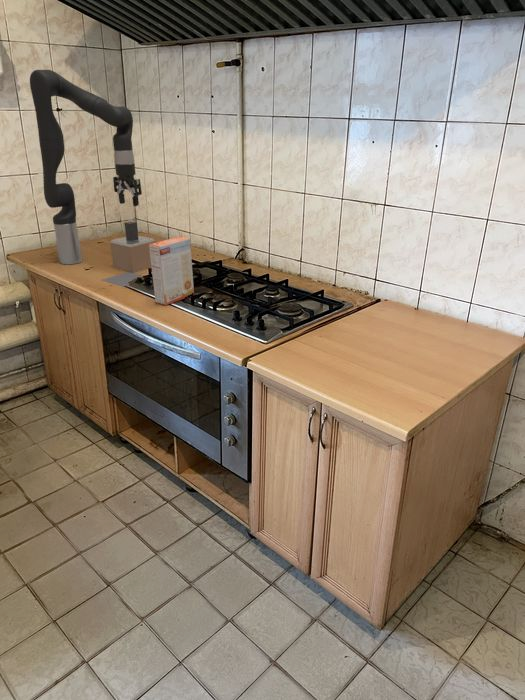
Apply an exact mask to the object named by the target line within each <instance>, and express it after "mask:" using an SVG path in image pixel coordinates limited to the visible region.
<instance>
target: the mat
mask: <svg viewBox="0 0 525 700" xmlns="http://www.w3.org/2000/svg"><path fill="white" fill-rule="evenodd" d="M143 276H144V275H142V274H139V273H137V272H135V273H132V272H128V271H126V272H123V273H121V274H117V275H114V276H110V277H106V278H103V279H101V281H103V282H106V283H110V284H113V285H116V286H120V287H122V288H123V287H127V286H130V285H129V283H128V282H130V281H132V280H133V279H135V278H137V277H143Z"/></svg>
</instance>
